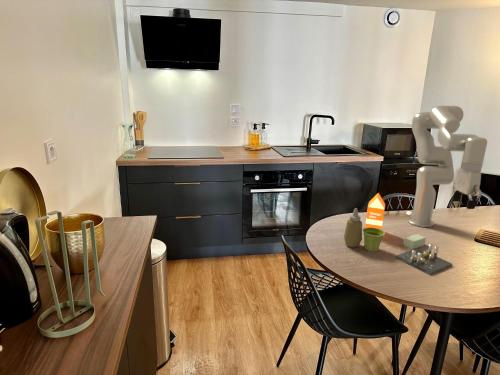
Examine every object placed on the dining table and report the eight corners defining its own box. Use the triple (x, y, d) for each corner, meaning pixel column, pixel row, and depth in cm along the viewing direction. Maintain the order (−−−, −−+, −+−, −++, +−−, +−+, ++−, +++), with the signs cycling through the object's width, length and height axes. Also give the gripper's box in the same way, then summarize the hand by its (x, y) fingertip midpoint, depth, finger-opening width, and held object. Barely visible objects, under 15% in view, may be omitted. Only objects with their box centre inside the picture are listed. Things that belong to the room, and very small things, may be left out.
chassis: (395, 257, 150) (397, 245, 148) (417, 250, 157) (419, 237, 155) (430, 275, 137) (432, 261, 135) (451, 265, 144) (454, 252, 142)
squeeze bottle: (362, 243, 163) (366, 207, 158) (359, 250, 156) (364, 213, 150) (344, 239, 166) (348, 204, 161) (341, 246, 159) (345, 210, 154)
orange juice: (364, 234, 172) (368, 196, 166) (365, 227, 180) (370, 191, 174) (380, 237, 170) (386, 198, 164) (381, 230, 177) (386, 193, 171)
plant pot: (382, 246, 160) (384, 228, 158) (382, 255, 152) (385, 237, 149) (361, 242, 163) (363, 225, 161) (360, 251, 155) (362, 233, 152)
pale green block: (403, 245, 162) (404, 237, 161) (415, 241, 166) (417, 233, 165) (412, 249, 158) (413, 241, 157) (424, 245, 163) (425, 237, 161)
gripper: (450, 162, 154) (443, 198, 159) (476, 171, 137) (467, 212, 142) (466, 162, 154) (458, 198, 159) (494, 171, 138) (485, 212, 143)
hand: (463, 204), depth 151 cm, fingers open, 9 cm apart
